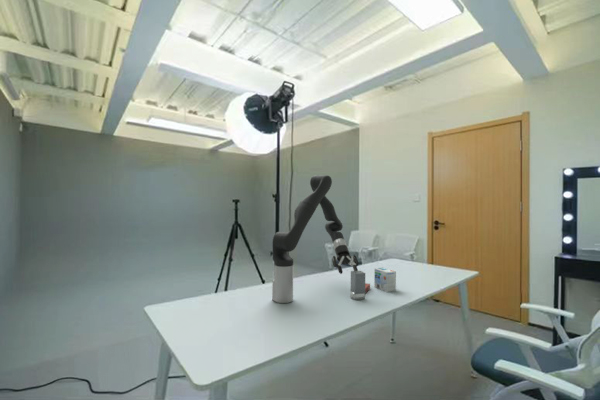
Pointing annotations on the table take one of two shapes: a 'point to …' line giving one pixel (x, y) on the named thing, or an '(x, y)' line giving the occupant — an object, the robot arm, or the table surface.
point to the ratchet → (360, 296)
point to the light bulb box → (385, 279)
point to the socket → (357, 282)
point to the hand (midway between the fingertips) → (348, 272)
